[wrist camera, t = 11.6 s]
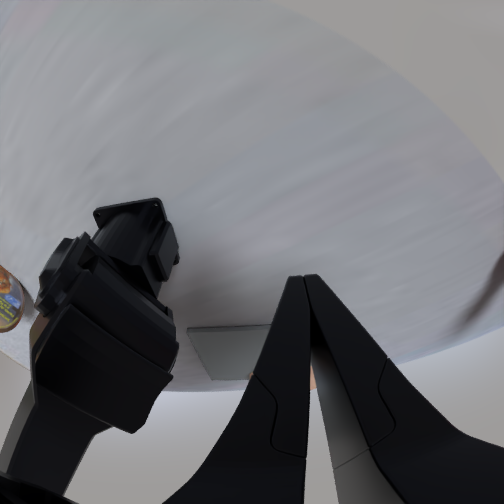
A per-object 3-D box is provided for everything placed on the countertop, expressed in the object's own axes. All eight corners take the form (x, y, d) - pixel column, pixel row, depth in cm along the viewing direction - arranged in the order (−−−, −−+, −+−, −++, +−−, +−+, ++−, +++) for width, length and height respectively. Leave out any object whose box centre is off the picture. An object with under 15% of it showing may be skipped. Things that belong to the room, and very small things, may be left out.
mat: (211, 376, 39) (211, 380, 39) (187, 328, 31) (186, 332, 31) (331, 368, 38) (331, 372, 37) (344, 317, 30) (345, 321, 29)
